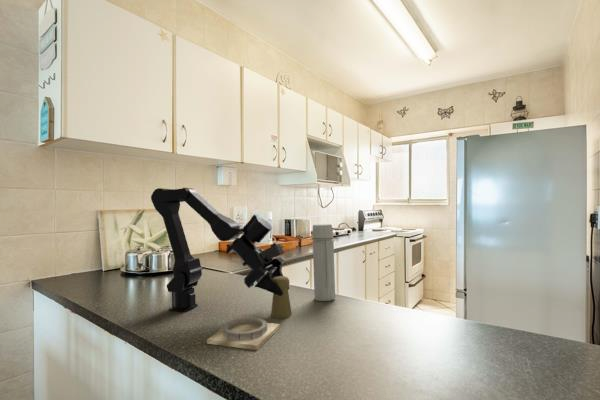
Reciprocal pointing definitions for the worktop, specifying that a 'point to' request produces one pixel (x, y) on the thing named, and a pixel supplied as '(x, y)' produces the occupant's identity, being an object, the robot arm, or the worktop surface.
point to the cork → (281, 299)
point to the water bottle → (323, 262)
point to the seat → (244, 333)
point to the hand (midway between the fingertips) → (285, 292)
